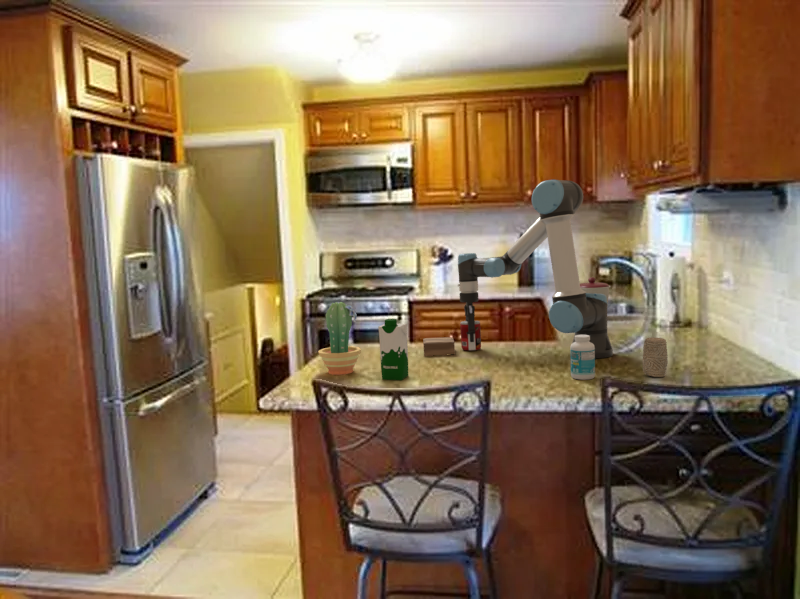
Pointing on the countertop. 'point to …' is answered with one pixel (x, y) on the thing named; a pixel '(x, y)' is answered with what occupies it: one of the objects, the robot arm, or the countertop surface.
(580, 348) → the pill bottle
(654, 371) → the carving
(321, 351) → the potted cactus
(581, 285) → the canister
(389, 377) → the milk carton
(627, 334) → the countertop surface
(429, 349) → the block
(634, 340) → the countertop surface
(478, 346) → the canned food
